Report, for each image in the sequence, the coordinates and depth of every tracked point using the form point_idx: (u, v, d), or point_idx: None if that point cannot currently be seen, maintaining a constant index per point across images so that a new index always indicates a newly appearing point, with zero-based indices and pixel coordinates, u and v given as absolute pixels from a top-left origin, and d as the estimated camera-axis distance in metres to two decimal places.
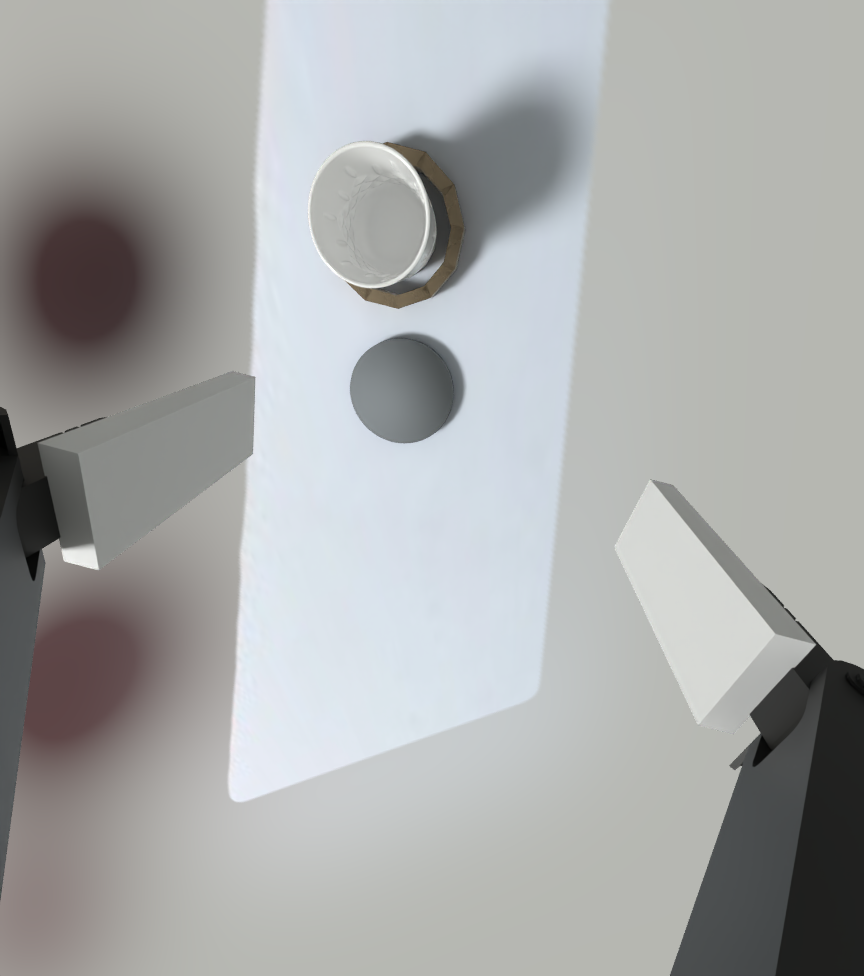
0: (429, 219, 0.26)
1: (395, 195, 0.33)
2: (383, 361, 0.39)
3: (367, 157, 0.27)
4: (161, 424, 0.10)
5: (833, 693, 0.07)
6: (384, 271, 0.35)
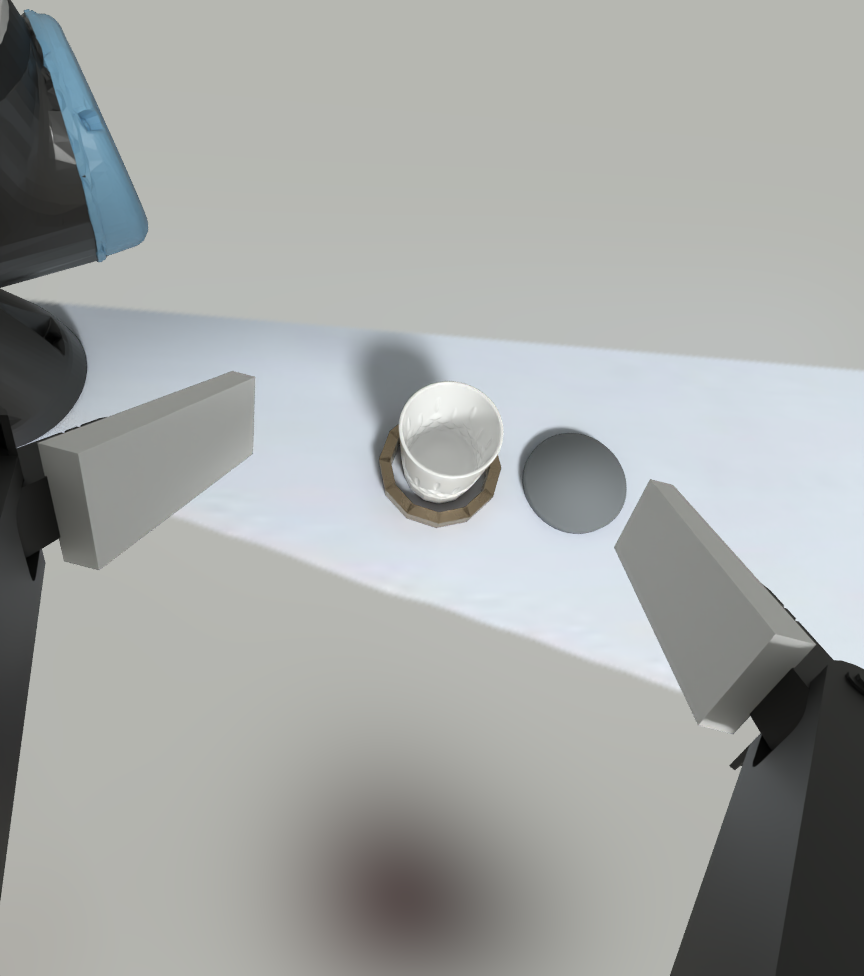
0: None
1: (415, 458, 0.39)
2: (546, 493, 0.40)
3: (403, 436, 0.33)
4: (161, 424, 0.10)
5: (833, 693, 0.07)
6: None
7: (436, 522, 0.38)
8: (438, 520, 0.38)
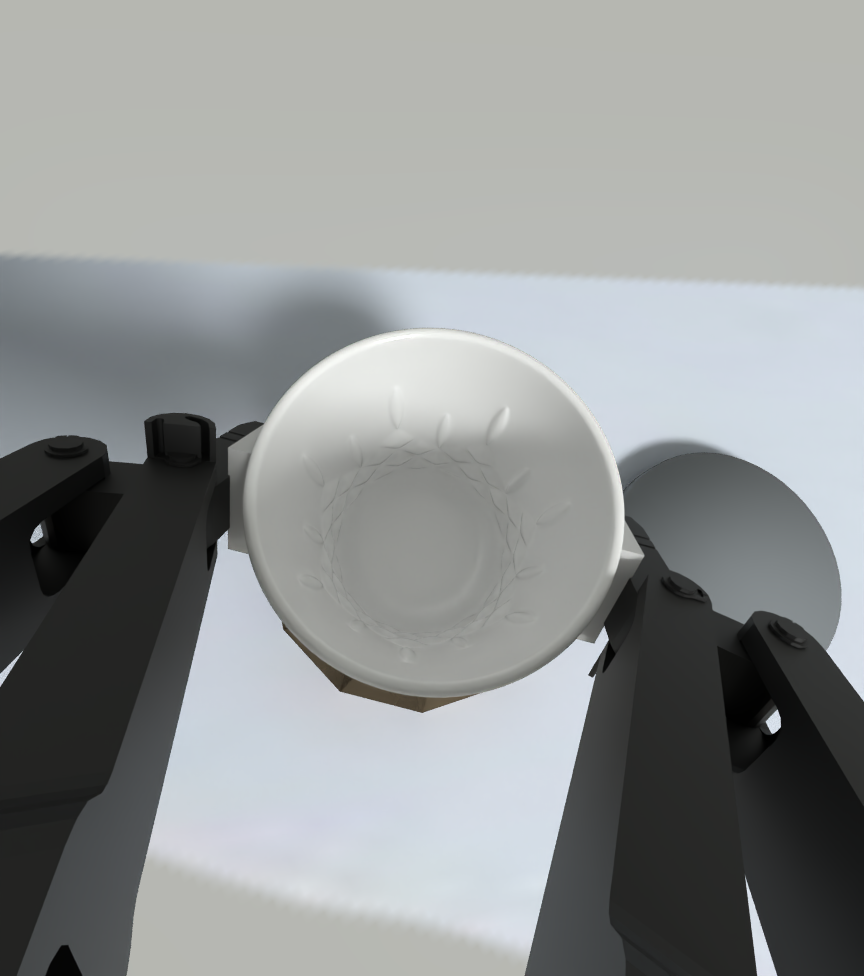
0: None
1: (358, 539, 0.16)
2: None
3: (286, 515, 0.10)
4: None
5: (652, 597, 0.08)
6: (496, 568, 0.16)
7: (417, 709, 0.15)
8: (422, 703, 0.15)
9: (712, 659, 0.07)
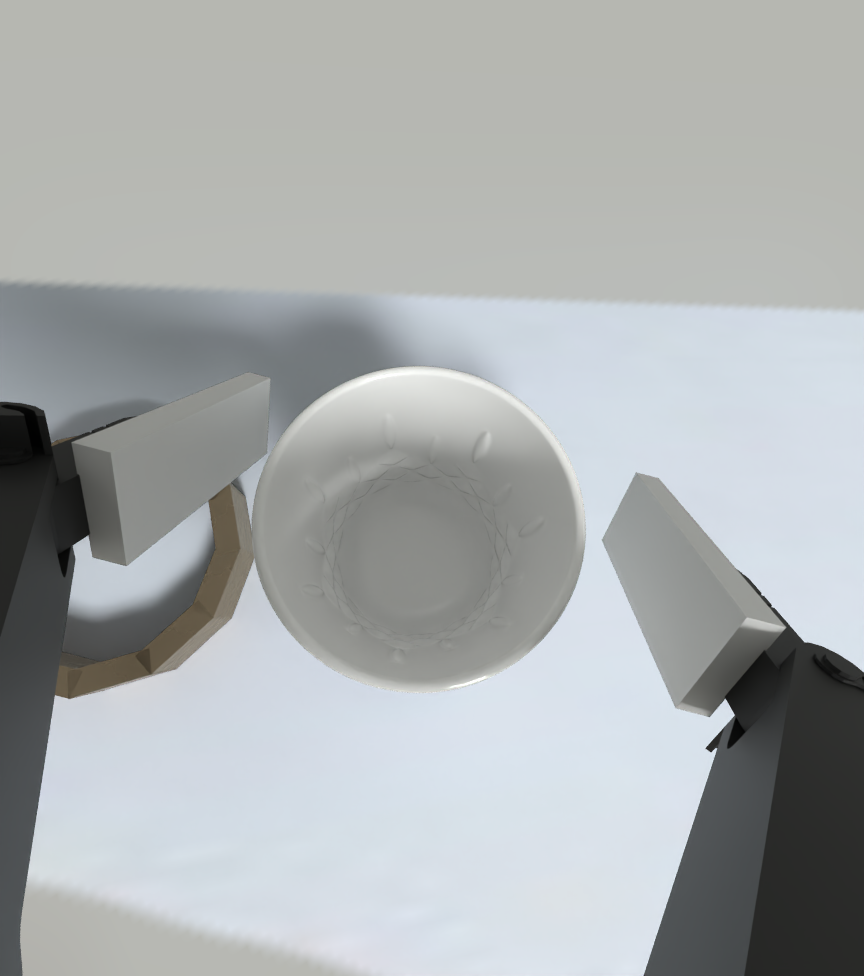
0: (427, 368, 0.11)
1: (358, 548, 0.18)
2: None
3: (290, 532, 0.12)
4: (185, 424, 0.10)
5: (801, 674, 0.07)
6: (485, 574, 0.17)
7: (66, 695, 0.16)
8: (70, 690, 0.16)
9: None
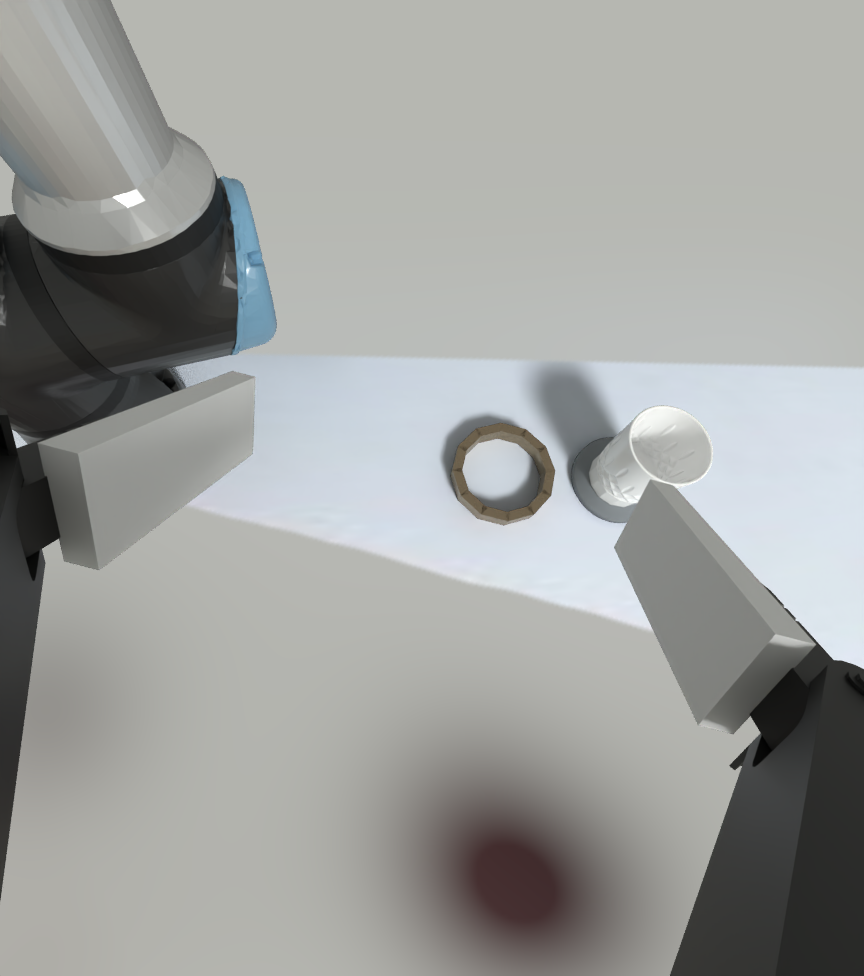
0: (665, 406, 0.40)
1: None
2: (593, 489, 0.47)
3: None
4: (161, 424, 0.10)
5: (833, 693, 0.07)
6: None
7: (506, 520, 0.44)
8: (507, 518, 0.45)
9: None
